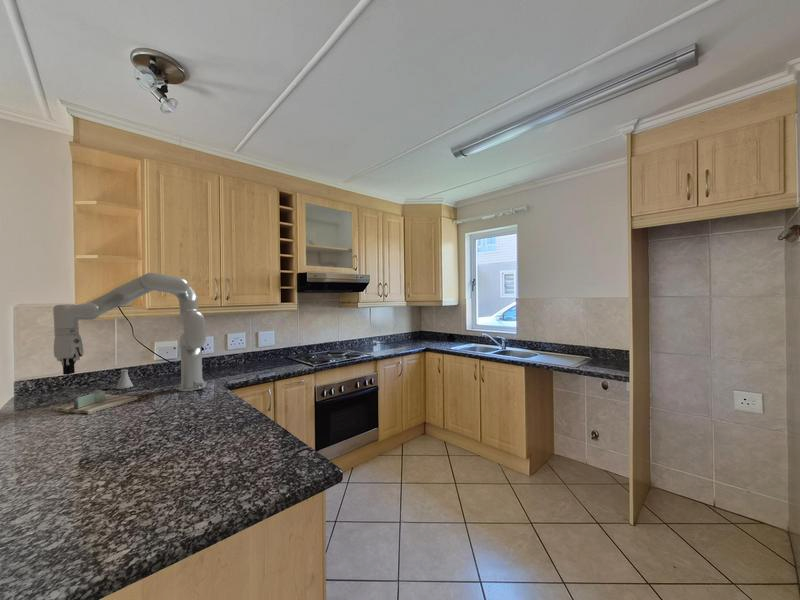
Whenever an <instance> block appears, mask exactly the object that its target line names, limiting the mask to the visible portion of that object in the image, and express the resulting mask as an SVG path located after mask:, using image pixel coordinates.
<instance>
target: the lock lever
mask: <svg viewBox="0 0 800 600" xmlns="http://www.w3.org/2000/svg"><path fill="white" fill-rule="evenodd" d="M105 395H106V390H102V389H96V390H94V392H91V393H89V394H87V395H83V396H78V397H75V398H73V403H74V409H77V408H80V407H83V406H87V405H90V404H93V403H97V402H102V401H105V400H106V398H105Z"/></svg>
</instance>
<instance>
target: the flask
mask: <svg viewBox="0 0 800 600" xmlns="http://www.w3.org/2000/svg"><path fill="white" fill-rule="evenodd" d="M128 371H129V369H127V368H125V369H121V370H120V378H119V380H118V383H117V385H116V387H115V389H116V390H125V388H126V389H130V387H131V388H133V387H134V384H133V383H132V380H131V379H130V376H129V374H128Z"/></svg>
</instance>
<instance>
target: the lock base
mask: <svg viewBox="0 0 800 600" xmlns="http://www.w3.org/2000/svg"><path fill="white" fill-rule="evenodd" d="M105 398H106V400H105V401H102V402H97V403H93V404H90V405H87V406H83V407H80V408H77V409H74V402H72V403H69V404H64V405H62V406H57V407H55V412H59V411H69V412H78V413H77V414H80V413H88V414H87V415H90V414H89V413H92V412H95V413H97V412H96V411H98V412H100V411H99V410H102V411H104V410H103V409H105V410H107V409H106V408H109V409H111V408H110V407H112V408H114V407H113V406H115V407H118V406H117V405H119V406H121V404H122V405H125V404H129V403H131V401H132V402H135V401H134V400H136V401H138V399H139V398H138V396H130V395H116V394H105ZM128 402H129V403H128ZM124 403H125V404H124ZM69 412H68V413H69ZM92 414H93V413H92Z"/></svg>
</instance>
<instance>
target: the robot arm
mask: <svg viewBox="0 0 800 600" xmlns="http://www.w3.org/2000/svg"><path fill="white" fill-rule="evenodd" d="M152 291H157V292H163V293H169V294H172V295H174V296H175V297H176V298H177V300H178V305H179V321H180V325H181V326H183V327H184V328H183V331H184V332H182V334H181V335H180V337H179V346H180V347H179V349H180V372H181V373H180V376H181V381H180V383H181V386H178V388H177V390H178V391H179V392H192V391H197V390H203V389H204V388H206V385H207V384H208V382H207V381H205V380H204V378H203V357H202V356H203V355H202V347H204V345H205V343H206V341H207V339H206V338H207V333H206V320H205V317H204V314H203V313H202V312H200V311H199V301H198V296H197V293H196V291H195V290H194V289H193V288H192V287H191V286H190V285H189V282H188V281H187V280H186V279H184V278H183V277H178V276H173V275H172V276H171V275H165V274H161V273H156V272H147V273H145V274H142V275H141V276H139V277H136V278H134V279H132V280H130V281H128V282H126V283H123V284H121V285H119V286H117V287H115V288H114V289H112V290H110V291H109V292H107V293H105V294H103V295H101V296H98V297H97V298H95V299H93V300H91V301H89V302H86V303H80V304H74V303H73V304H71V303H70V304H69V303H68V304H67V303H66V304H56V305H54V306H53V308H52V309H53V311H52V313H53V329H54V330H53V331H54V340H53V356H54V358H56V361H58V362H60V364H61V366H62V372H63V373H62V374H63V375H64V376H65V375H66V376H67V375H71V374H75V370H76V369H75V364H76V362H77V361H80V357H83V356H84V347H83V341H82V336H81V334H80V329H79V328H80V326H79V320H82V321H83V320H85V321H87V320H88V321H93V320H96V319H97V318H99V317H100V316H101V315H103V314H106V313H108V312H109V311H111V310H114V309H115V308H118V307H120V306H122V305H123V306H124V305H126V304H129V303H131V302H133V301H135V300H137V299H139V298H141V297H143V296H144V295H147V294H149V293H151V292H152Z"/></svg>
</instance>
